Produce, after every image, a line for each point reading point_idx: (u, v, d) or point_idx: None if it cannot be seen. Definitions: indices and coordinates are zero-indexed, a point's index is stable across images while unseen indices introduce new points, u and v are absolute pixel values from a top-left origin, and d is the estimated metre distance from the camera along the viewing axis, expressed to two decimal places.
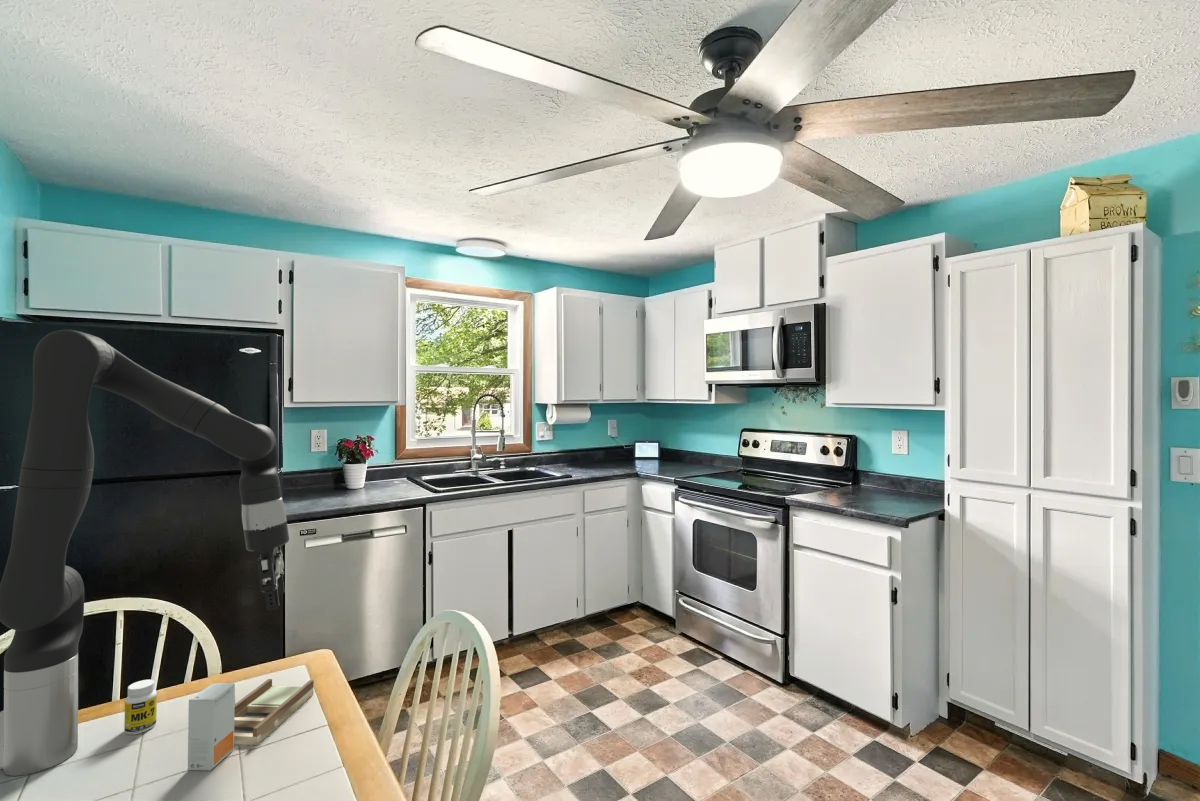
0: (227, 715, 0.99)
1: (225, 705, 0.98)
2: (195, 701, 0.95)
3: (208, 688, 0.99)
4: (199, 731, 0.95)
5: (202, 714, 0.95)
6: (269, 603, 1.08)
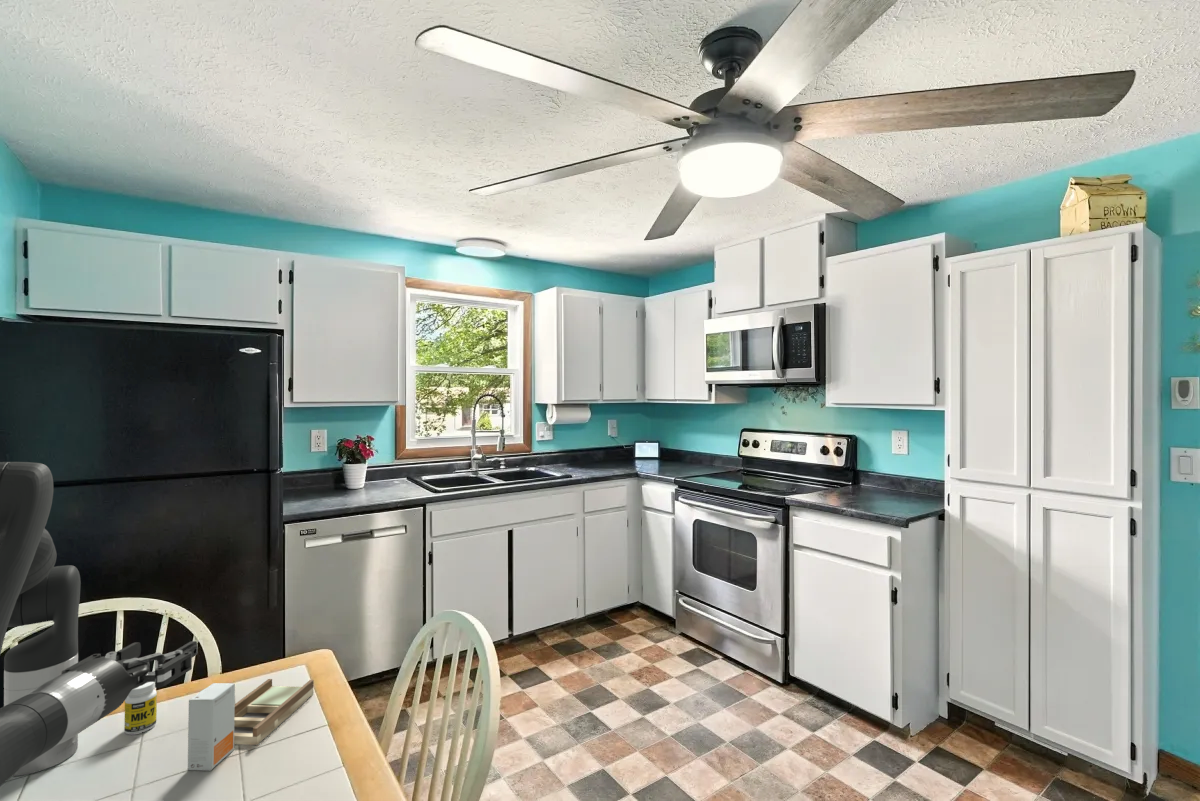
0: (227, 715, 0.99)
1: (225, 705, 0.98)
2: (195, 701, 0.95)
3: (208, 688, 0.99)
4: (199, 731, 0.95)
5: (202, 714, 0.95)
6: None
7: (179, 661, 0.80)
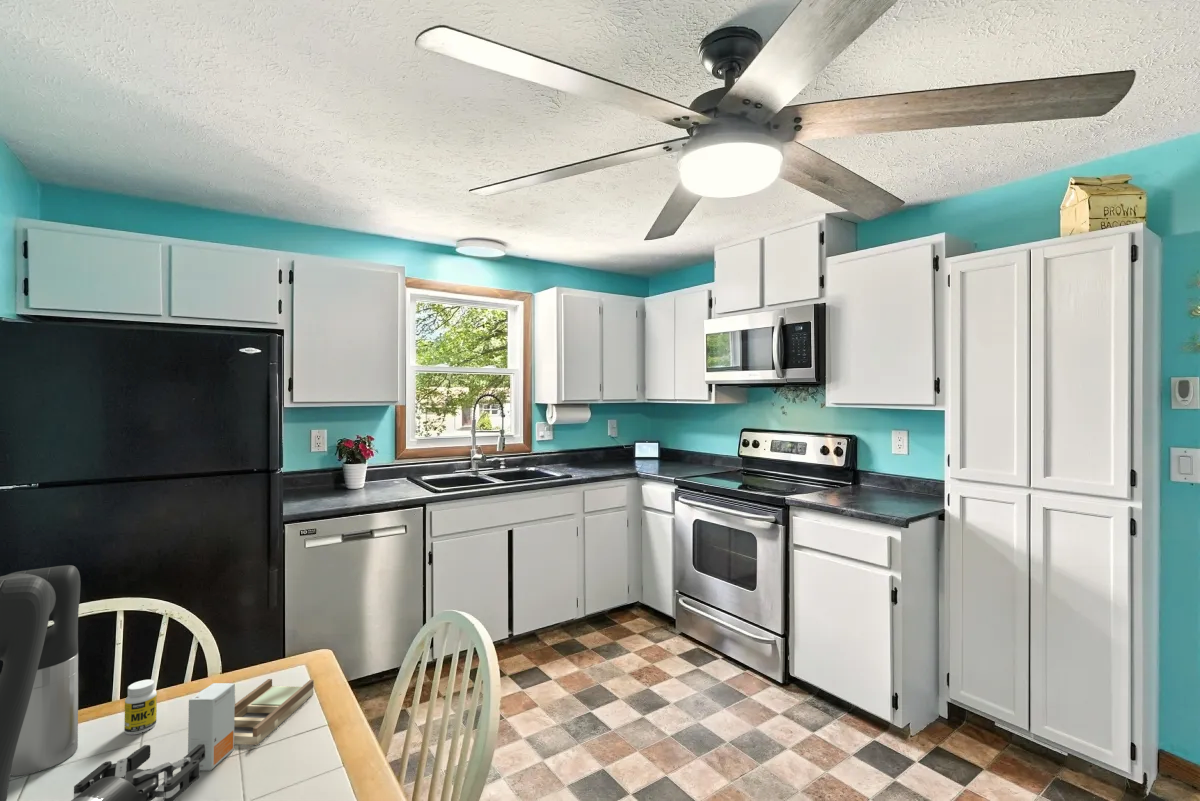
0: (227, 715, 0.99)
1: (225, 705, 0.98)
2: (195, 701, 0.95)
3: (208, 688, 0.99)
4: (199, 731, 0.95)
5: (202, 714, 0.95)
6: None
7: (187, 773, 0.82)
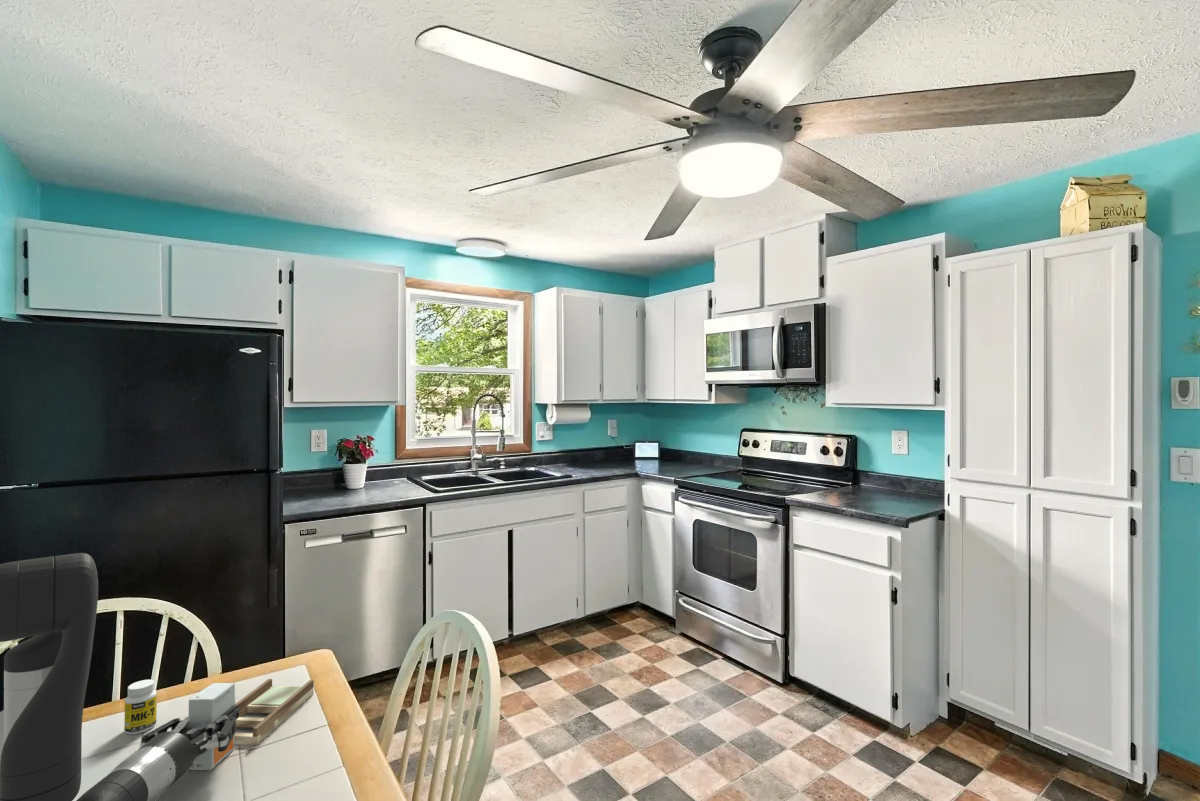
0: None
1: (225, 705, 0.98)
2: (195, 701, 0.95)
3: (208, 688, 0.99)
4: None
5: (202, 714, 0.95)
6: None
7: (231, 726, 0.94)
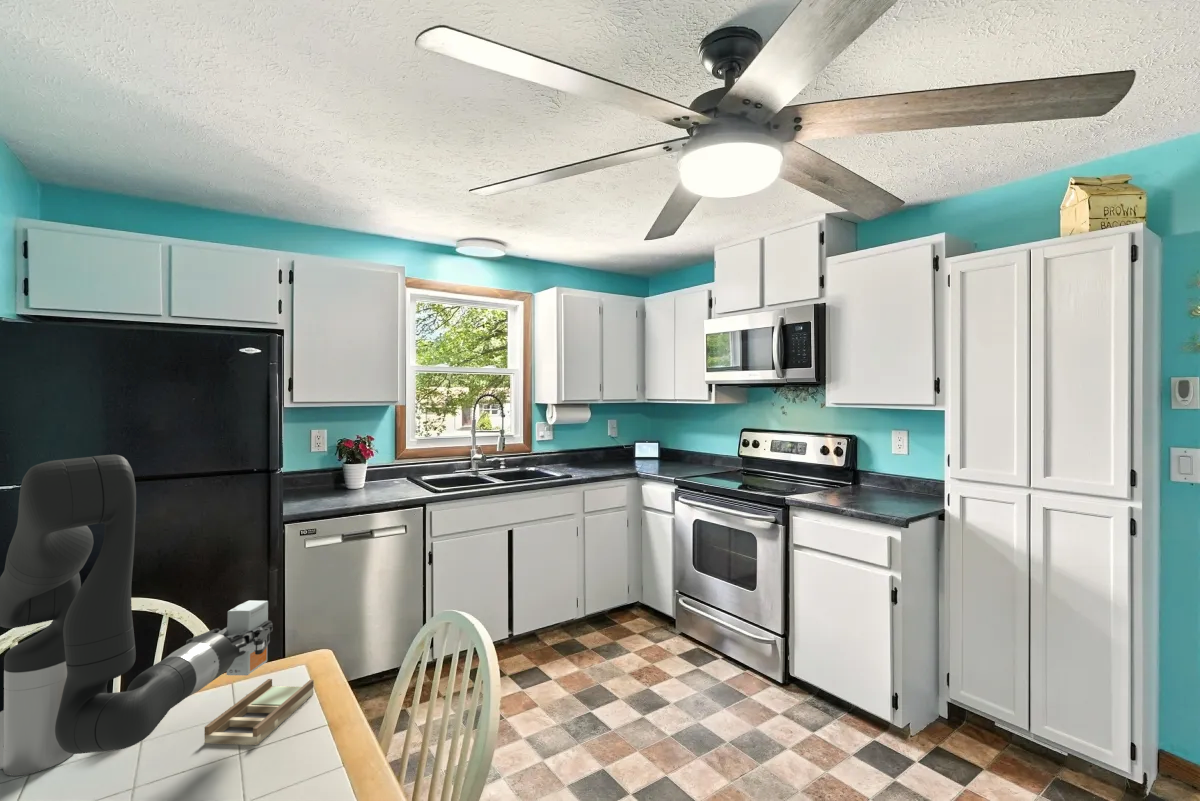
0: None
1: (260, 619, 1.07)
2: (233, 612, 1.04)
3: (244, 603, 1.08)
4: None
5: (239, 624, 1.04)
6: None
7: (266, 634, 1.03)
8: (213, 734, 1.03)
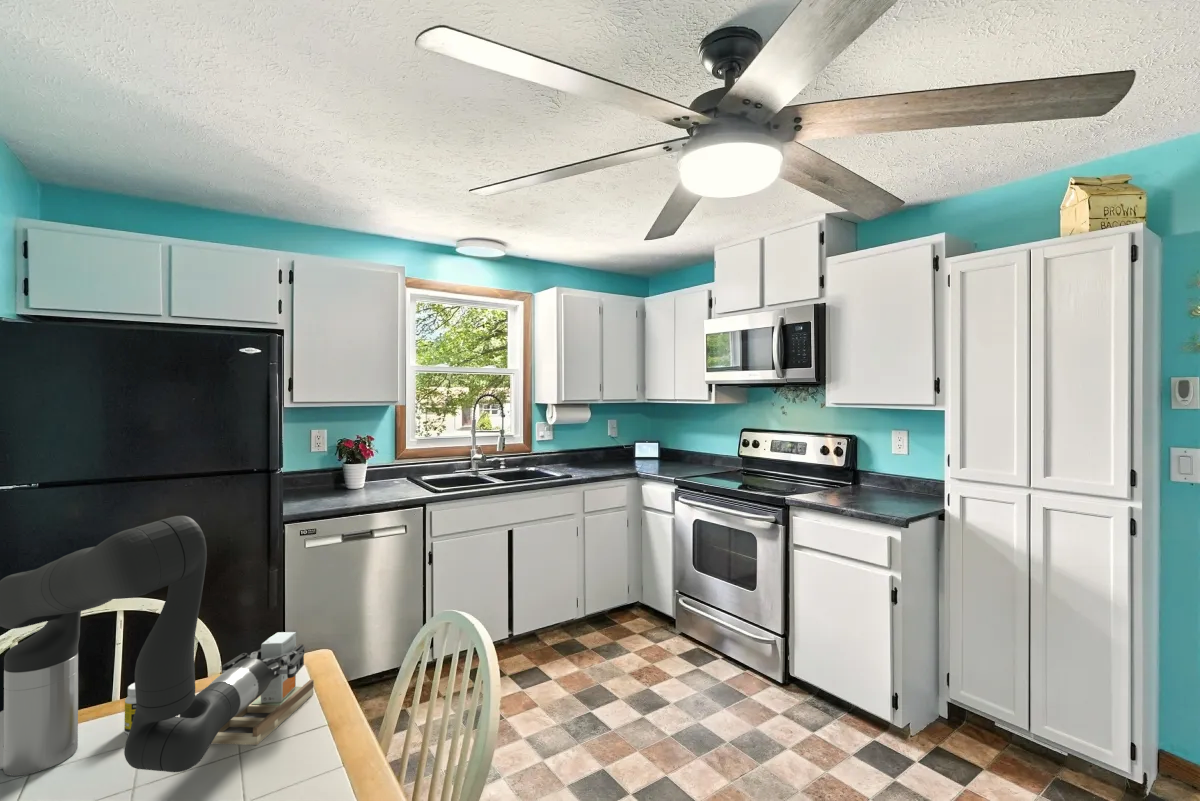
0: None
1: (290, 649, 1.17)
2: (267, 645, 1.13)
3: (274, 635, 1.17)
4: None
5: (272, 655, 1.13)
6: None
7: (299, 659, 1.12)
8: None
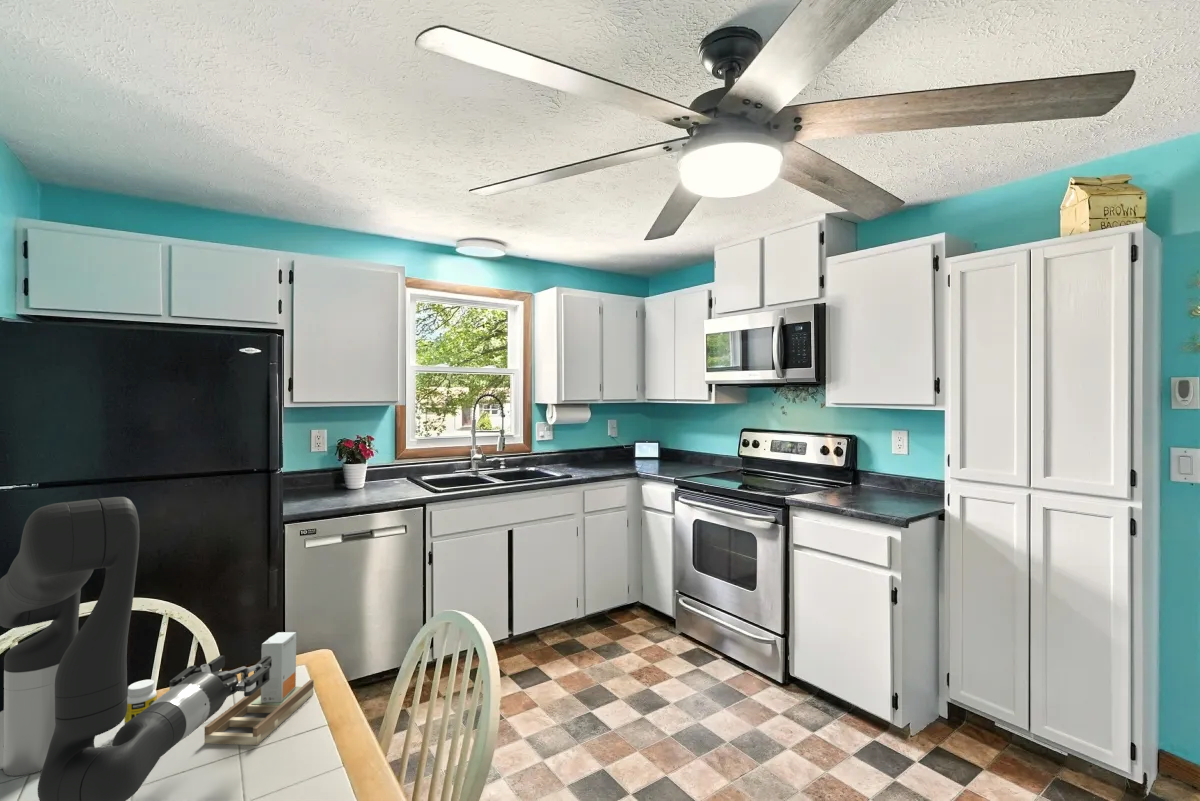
0: (291, 658, 1.17)
1: (290, 649, 1.17)
2: (267, 645, 1.13)
3: (275, 635, 1.17)
4: (271, 669, 1.13)
5: (273, 655, 1.13)
6: None
7: (261, 674, 0.98)
8: (213, 734, 1.03)
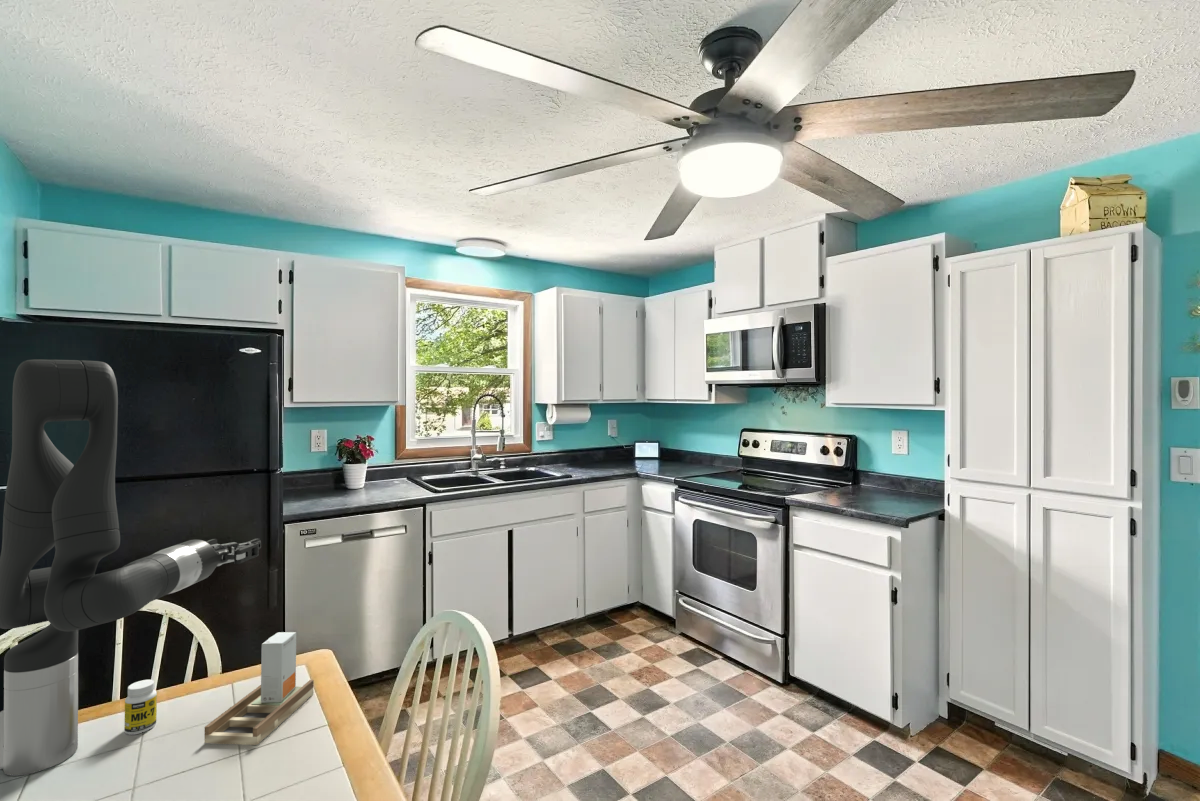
0: (291, 658, 1.17)
1: (290, 649, 1.17)
2: (267, 645, 1.13)
3: (275, 635, 1.17)
4: (271, 669, 1.13)
5: (273, 655, 1.13)
6: None
7: (250, 547, 1.06)
8: (213, 734, 1.03)
